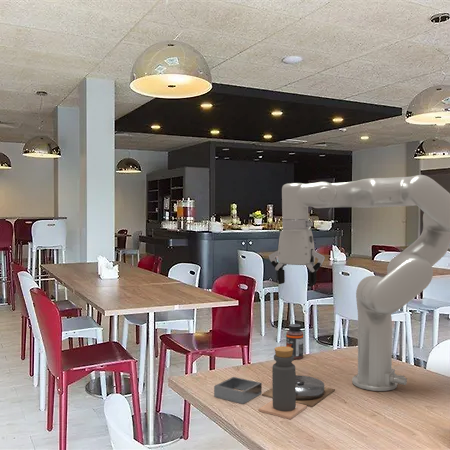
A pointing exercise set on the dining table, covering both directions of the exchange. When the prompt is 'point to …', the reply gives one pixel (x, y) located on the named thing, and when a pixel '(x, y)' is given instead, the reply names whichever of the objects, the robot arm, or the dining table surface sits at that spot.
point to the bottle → (284, 379)
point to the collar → (228, 393)
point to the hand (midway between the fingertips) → (296, 284)
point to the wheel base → (305, 402)
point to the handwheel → (308, 388)
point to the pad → (285, 414)
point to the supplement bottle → (295, 340)
